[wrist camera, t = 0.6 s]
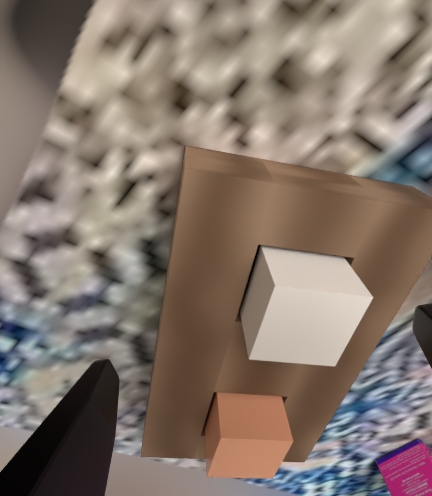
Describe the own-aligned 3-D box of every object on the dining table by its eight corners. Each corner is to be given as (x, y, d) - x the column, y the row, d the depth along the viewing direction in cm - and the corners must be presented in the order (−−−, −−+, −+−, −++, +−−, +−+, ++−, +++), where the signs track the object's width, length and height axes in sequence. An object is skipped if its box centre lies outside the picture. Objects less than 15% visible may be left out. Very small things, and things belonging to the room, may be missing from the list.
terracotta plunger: (280, 392, 24) (293, 441, 21) (263, 430, 27) (272, 478, 24) (216, 388, 24) (220, 438, 21) (204, 427, 26) (206, 477, 23)
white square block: (343, 256, 18) (373, 297, 15) (314, 320, 21) (334, 366, 18) (260, 245, 18) (275, 285, 15) (240, 312, 20) (248, 359, 17)
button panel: (412, 186, 20) (457, 214, 17) (292, 418, 32) (304, 462, 29) (185, 145, 18) (184, 168, 15) (146, 410, 30) (140, 456, 27)
